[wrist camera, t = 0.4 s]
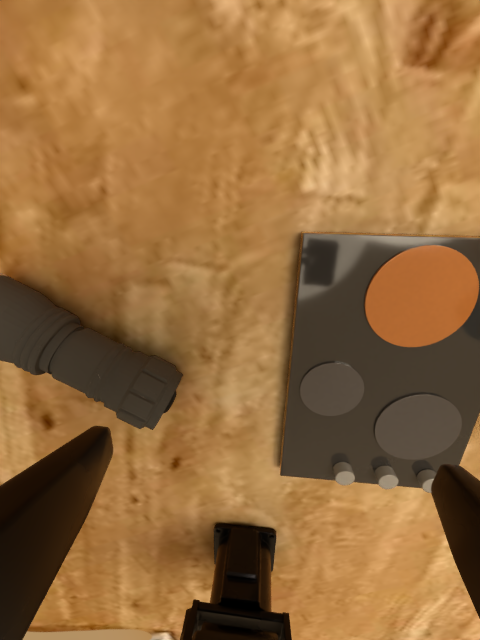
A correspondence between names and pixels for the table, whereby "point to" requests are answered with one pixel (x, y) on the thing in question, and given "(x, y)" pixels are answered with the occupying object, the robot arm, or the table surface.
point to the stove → (382, 358)
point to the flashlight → (83, 357)
